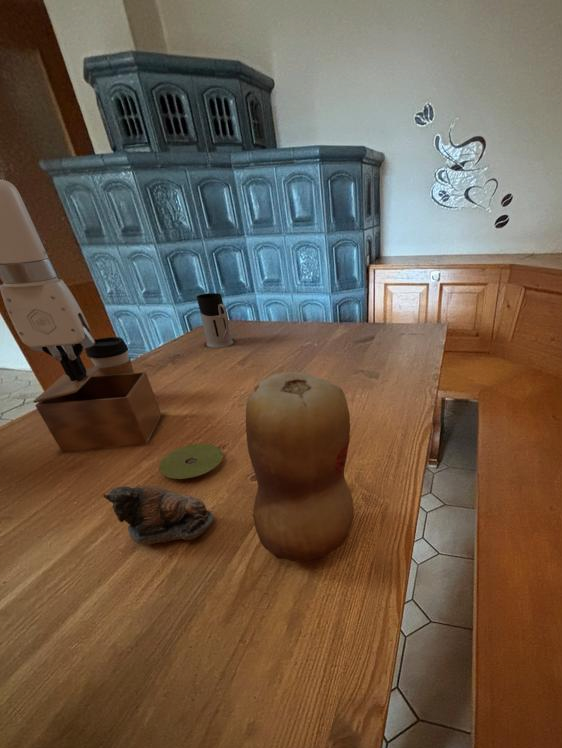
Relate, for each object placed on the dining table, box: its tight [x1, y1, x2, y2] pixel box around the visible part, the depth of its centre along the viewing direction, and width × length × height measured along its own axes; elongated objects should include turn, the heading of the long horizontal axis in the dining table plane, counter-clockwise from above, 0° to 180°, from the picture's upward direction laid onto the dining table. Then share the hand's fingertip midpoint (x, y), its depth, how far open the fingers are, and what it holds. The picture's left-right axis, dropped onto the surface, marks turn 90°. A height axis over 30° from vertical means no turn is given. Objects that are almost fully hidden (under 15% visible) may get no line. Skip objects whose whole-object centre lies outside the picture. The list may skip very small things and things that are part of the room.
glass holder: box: [196, 292, 234, 349], centre depth 123 cm, size 9×14×15 cm, turn 43°
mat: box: [158, 443, 224, 480], centre depth 71 cm, size 11×11×2 cm
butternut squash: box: [245, 371, 355, 562], centre depth 49 cm, size 14×13×25 cm
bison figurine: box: [102, 484, 214, 546], centre depth 55 cm, size 12×7×10 cm, turn 108°
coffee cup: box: [84, 336, 135, 376], centre depth 90 cm, size 8×8×15 cm
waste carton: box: [34, 371, 162, 453], centre depth 80 cm, size 16×13×10 cm
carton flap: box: [32, 365, 101, 404], centre depth 75 cm, size 8×13×1 cm, turn 10°
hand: (79, 378), depth 75 cm, fingers closed
